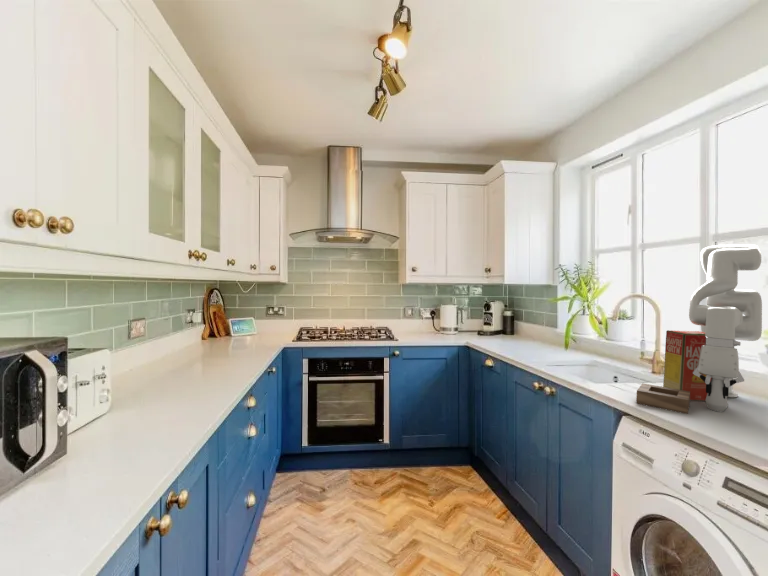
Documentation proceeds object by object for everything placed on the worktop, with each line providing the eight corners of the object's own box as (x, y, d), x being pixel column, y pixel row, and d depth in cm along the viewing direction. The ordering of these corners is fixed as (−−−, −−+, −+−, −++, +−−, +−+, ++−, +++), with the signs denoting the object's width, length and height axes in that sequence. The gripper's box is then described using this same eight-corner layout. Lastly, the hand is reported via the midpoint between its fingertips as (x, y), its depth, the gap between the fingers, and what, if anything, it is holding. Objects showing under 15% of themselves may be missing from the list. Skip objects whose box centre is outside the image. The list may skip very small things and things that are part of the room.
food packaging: (680, 400, 136) (683, 332, 135) (661, 393, 145) (664, 329, 145) (716, 401, 136) (719, 334, 136) (694, 394, 145) (697, 330, 145)
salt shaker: (732, 413, 123) (734, 374, 123) (712, 411, 124) (714, 373, 124) (720, 407, 129) (721, 370, 129) (701, 406, 130) (702, 369, 130)
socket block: (642, 396, 141) (642, 383, 141) (689, 405, 131) (690, 391, 131) (636, 404, 130) (636, 390, 130) (687, 415, 121) (688, 399, 121)
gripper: (752, 345, 123) (749, 400, 124) (688, 339, 134) (686, 389, 134) (753, 347, 118) (751, 405, 118) (687, 341, 129) (685, 393, 129)
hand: (716, 396), depth 126 cm, fingers closed on salt shaker, 3 cm apart
